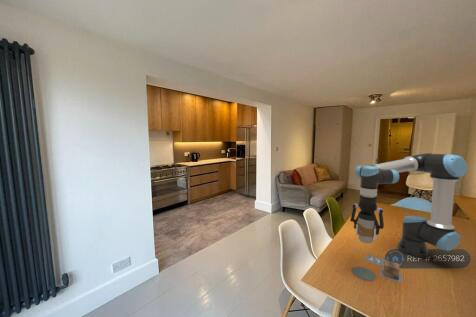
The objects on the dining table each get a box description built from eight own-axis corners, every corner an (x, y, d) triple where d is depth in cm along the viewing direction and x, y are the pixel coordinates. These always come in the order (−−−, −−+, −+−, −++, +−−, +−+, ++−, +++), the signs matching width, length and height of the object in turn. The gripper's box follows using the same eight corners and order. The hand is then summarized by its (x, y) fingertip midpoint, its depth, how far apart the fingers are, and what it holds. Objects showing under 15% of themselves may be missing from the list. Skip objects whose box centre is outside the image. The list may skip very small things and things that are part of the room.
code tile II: (402, 275, 110) (402, 274, 110) (400, 283, 103) (400, 283, 103) (382, 267, 116) (382, 267, 116) (379, 275, 109) (379, 275, 109)
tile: (385, 260, 123) (385, 259, 123) (382, 267, 116) (382, 266, 116) (367, 254, 129) (367, 254, 129) (364, 260, 123) (364, 260, 123)
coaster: (377, 273, 111) (377, 272, 111) (373, 284, 103) (373, 283, 103) (354, 265, 118) (355, 264, 118) (349, 274, 110) (349, 273, 110)
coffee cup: (353, 237, 112) (354, 211, 111) (367, 236, 113) (368, 210, 112) (363, 245, 104) (365, 216, 103) (378, 244, 105) (380, 216, 103)
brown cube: (397, 273, 110) (398, 263, 110) (398, 280, 105) (399, 269, 105) (383, 269, 113) (384, 259, 113) (384, 276, 109) (385, 265, 108)
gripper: (393, 197, 102) (390, 241, 104) (348, 190, 116) (346, 229, 118) (391, 201, 96) (388, 246, 99) (344, 193, 110) (342, 233, 113)
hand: (365, 237), depth 108 cm, fingers closed on coffee cup, 7 cm apart
